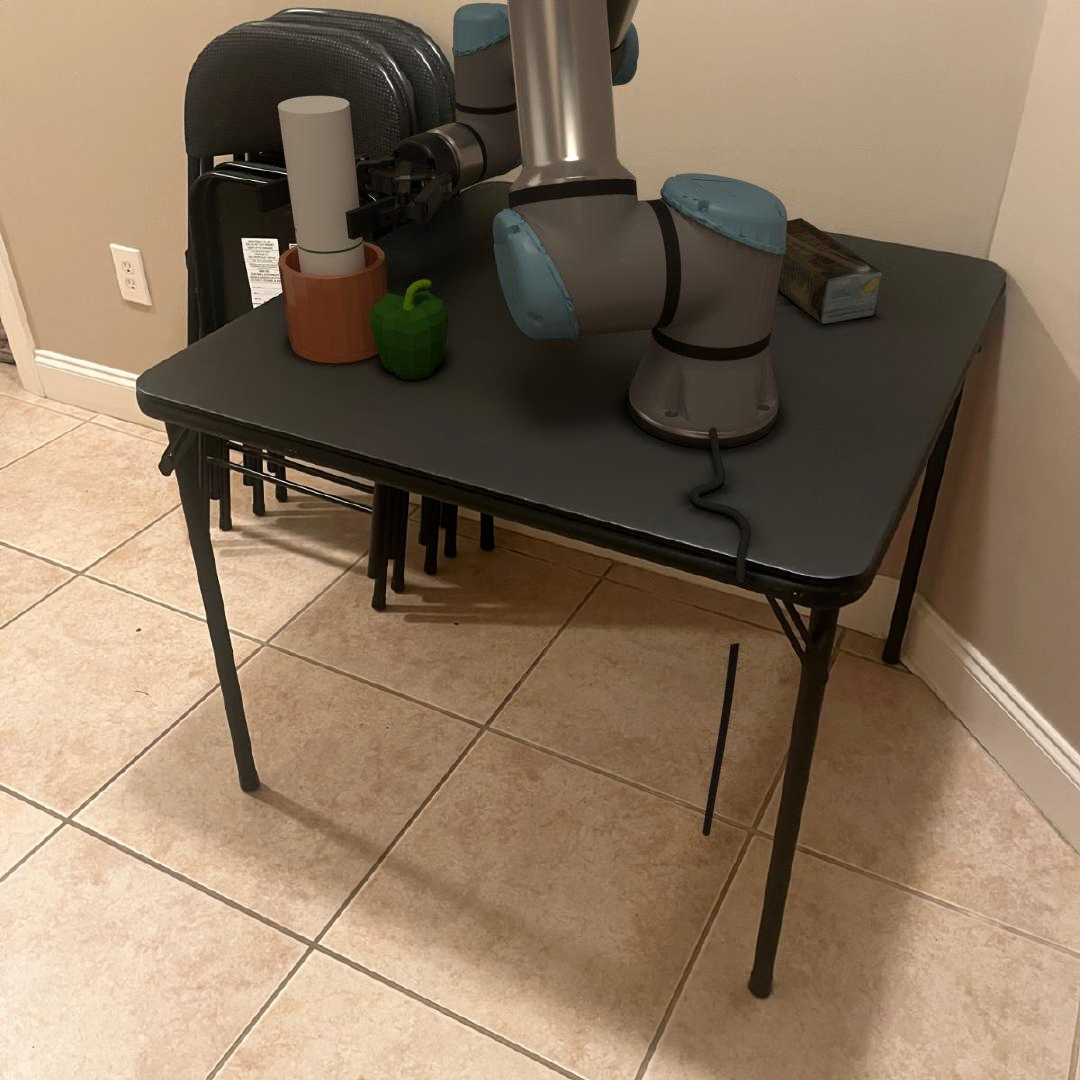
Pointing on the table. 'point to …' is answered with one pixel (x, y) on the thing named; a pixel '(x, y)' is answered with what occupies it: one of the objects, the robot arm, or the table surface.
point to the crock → (332, 308)
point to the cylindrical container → (321, 182)
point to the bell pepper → (410, 331)
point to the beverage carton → (826, 276)
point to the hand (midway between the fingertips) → (302, 212)
